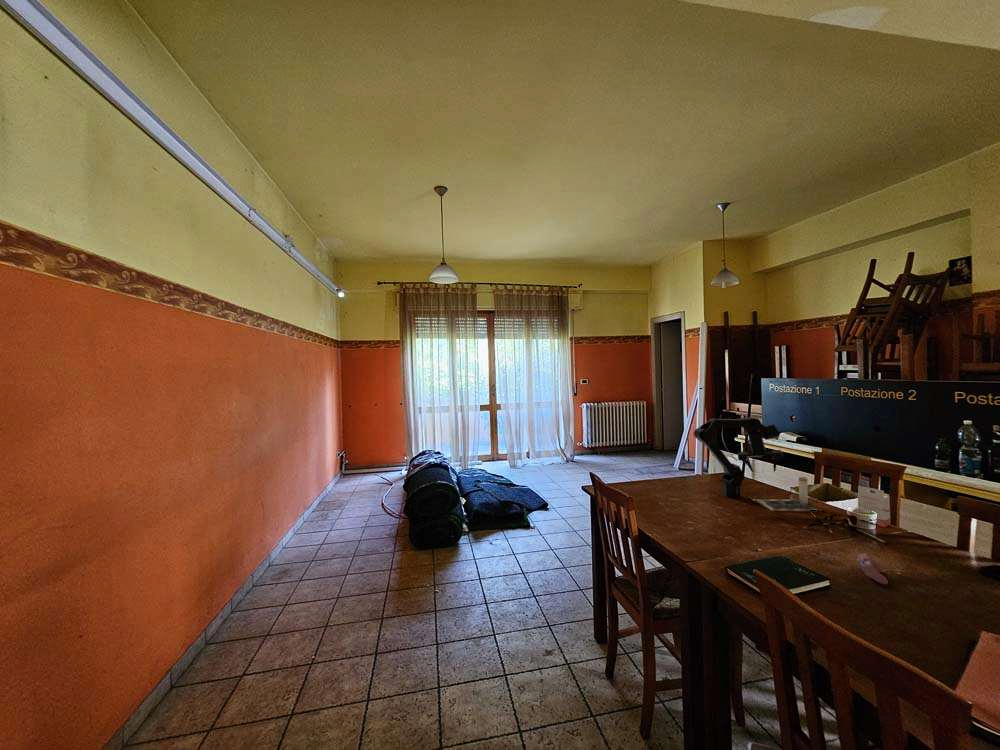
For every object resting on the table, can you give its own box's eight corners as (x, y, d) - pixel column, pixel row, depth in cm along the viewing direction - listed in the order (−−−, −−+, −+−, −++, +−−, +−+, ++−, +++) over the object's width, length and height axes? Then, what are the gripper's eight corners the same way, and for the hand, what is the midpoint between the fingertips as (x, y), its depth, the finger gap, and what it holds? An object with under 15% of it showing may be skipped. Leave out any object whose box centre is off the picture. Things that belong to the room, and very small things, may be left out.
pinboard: (772, 510, 168) (772, 502, 168) (756, 501, 180) (756, 494, 180) (816, 511, 167) (816, 503, 167) (797, 501, 178) (797, 494, 178)
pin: (804, 507, 168) (803, 479, 168) (797, 505, 171) (797, 477, 171) (809, 507, 169) (809, 478, 169) (803, 505, 172) (802, 477, 171)
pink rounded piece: (865, 572, 120) (852, 551, 122) (883, 570, 117) (869, 548, 119) (871, 587, 112) (856, 563, 114) (890, 585, 109) (875, 561, 111)
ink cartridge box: (891, 525, 150) (890, 489, 150) (885, 527, 148) (884, 491, 148) (863, 517, 158) (862, 483, 158) (857, 520, 156) (856, 485, 156)
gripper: (778, 435, 189) (785, 465, 189) (736, 439, 200) (742, 467, 200) (779, 441, 180) (786, 473, 180) (734, 444, 191) (741, 474, 191)
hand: (763, 471), depth 188 cm, fingers open, 9 cm apart
